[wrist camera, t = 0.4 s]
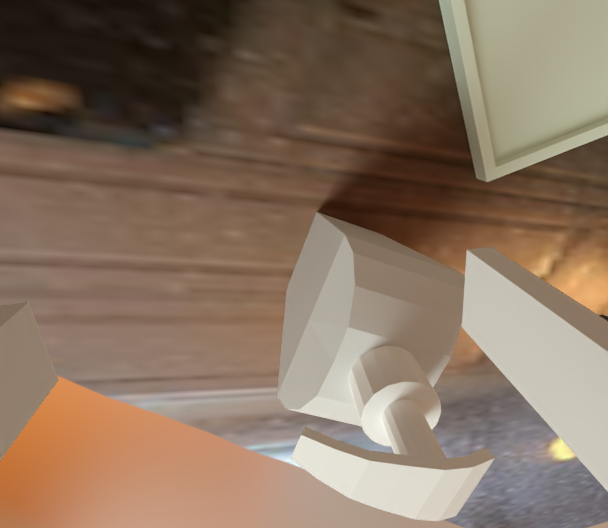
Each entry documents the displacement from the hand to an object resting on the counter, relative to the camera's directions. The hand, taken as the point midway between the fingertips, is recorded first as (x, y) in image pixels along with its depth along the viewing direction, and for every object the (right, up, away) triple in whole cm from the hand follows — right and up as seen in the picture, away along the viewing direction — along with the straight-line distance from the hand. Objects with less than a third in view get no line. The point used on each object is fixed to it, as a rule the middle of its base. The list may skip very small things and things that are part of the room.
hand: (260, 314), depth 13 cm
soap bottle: (+3, +2, +28) cm, 28 cm away
